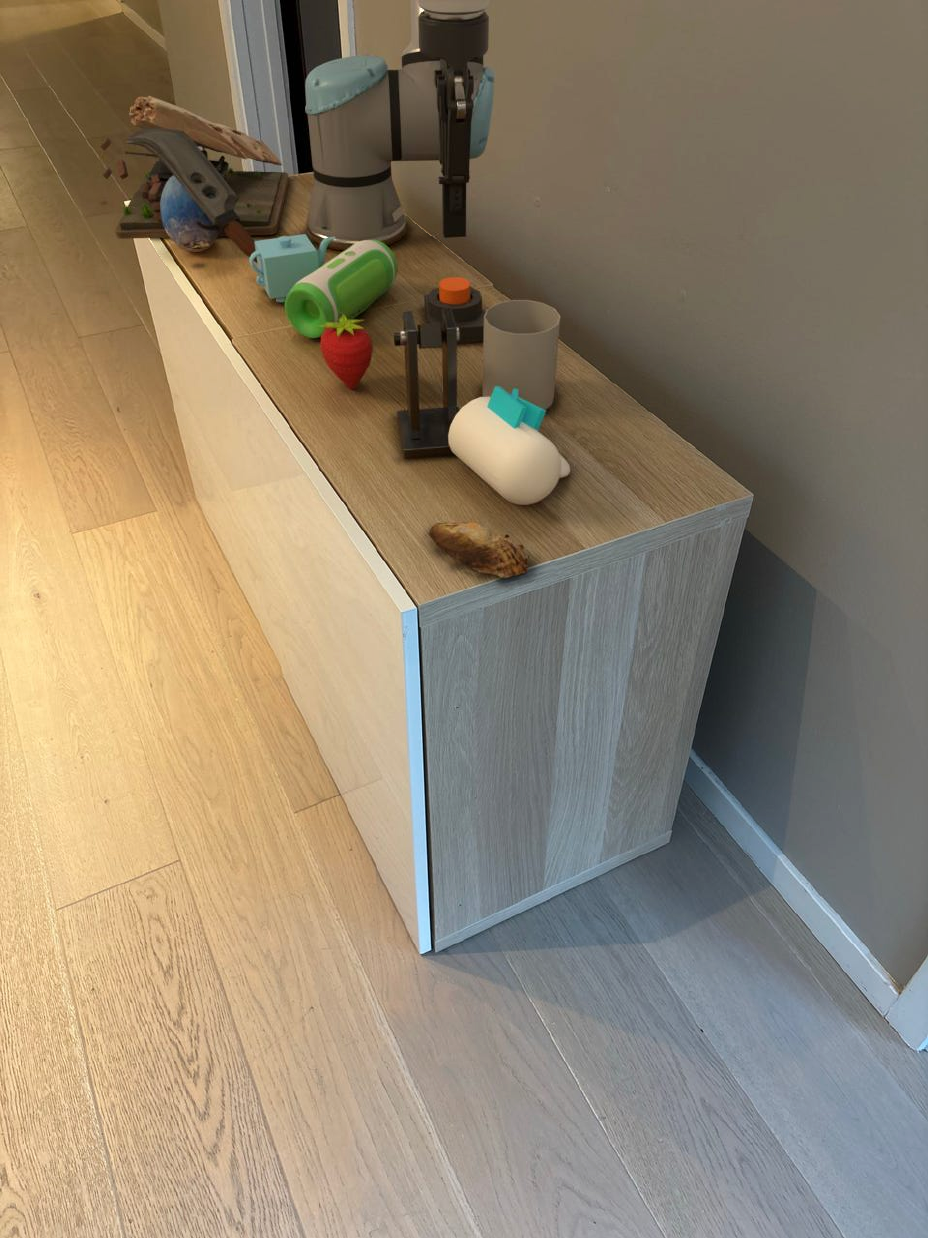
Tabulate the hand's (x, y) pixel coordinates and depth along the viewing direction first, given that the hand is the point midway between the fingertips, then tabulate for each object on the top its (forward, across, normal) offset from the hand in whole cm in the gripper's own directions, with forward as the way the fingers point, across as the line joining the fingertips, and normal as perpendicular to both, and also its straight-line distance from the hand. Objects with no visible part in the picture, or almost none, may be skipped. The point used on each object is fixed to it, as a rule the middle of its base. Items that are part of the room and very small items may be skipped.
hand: (454, 234), depth 115 cm
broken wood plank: (+6, -50, -33) cm, 60 cm away
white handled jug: (+11, +36, +2) cm, 38 cm away
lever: (+3, +22, -6) cm, 23 cm away
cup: (+12, +20, +5) cm, 23 cm away
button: (+8, +1, 0) cm, 8 cm away
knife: (+12, -15, -24) cm, 30 cm away
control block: (+12, +1, 0) cm, 12 cm away
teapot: (+12, -12, -20) cm, 27 cm away
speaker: (+12, -4, -14) cm, 19 cm away
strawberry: (+12, +15, -14) cm, 24 cm away
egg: (+12, -23, -35) cm, 43 cm away
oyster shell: (+10, +43, -6) cm, 44 cm away
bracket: (+11, +27, -6) cm, 30 cm away
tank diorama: (+13, -46, -36) cm, 60 cm away
